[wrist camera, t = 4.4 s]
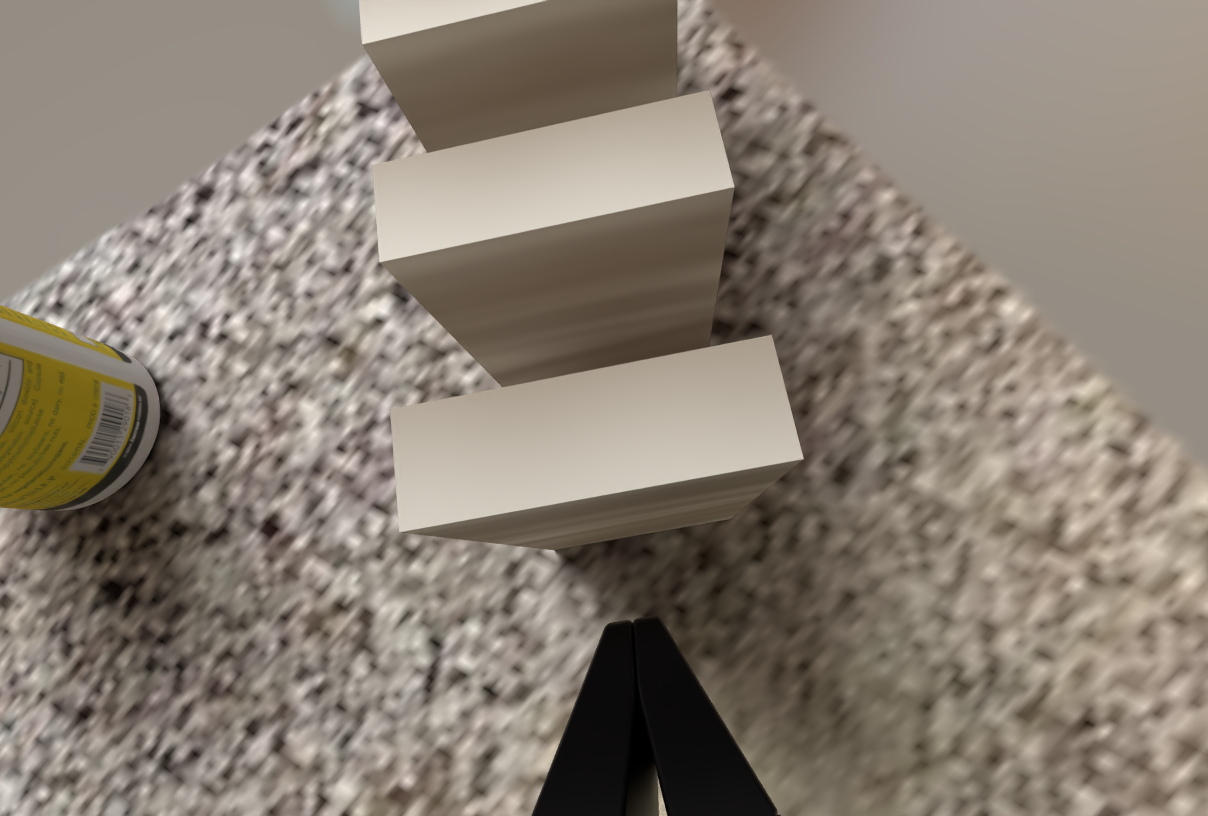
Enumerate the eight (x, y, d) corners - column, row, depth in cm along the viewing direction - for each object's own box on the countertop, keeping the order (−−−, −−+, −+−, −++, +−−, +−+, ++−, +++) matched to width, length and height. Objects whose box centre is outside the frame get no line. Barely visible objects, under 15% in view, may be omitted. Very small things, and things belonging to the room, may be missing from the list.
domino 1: (730, 519, 17) (803, 458, 7) (554, 550, 17) (398, 532, 8) (717, 462, 17) (771, 334, 8) (546, 494, 18) (390, 409, 8)
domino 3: (676, 273, 19) (677, -32, 9) (519, 305, 19) (362, 44, 10) (666, 227, 19) (657, -108, 10) (513, 259, 20) (356, -33, 10)
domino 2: (701, 389, 18) (734, 186, 8) (535, 420, 18) (379, 262, 9) (690, 338, 18) (709, 89, 9) (528, 370, 19) (371, 165, 9)
